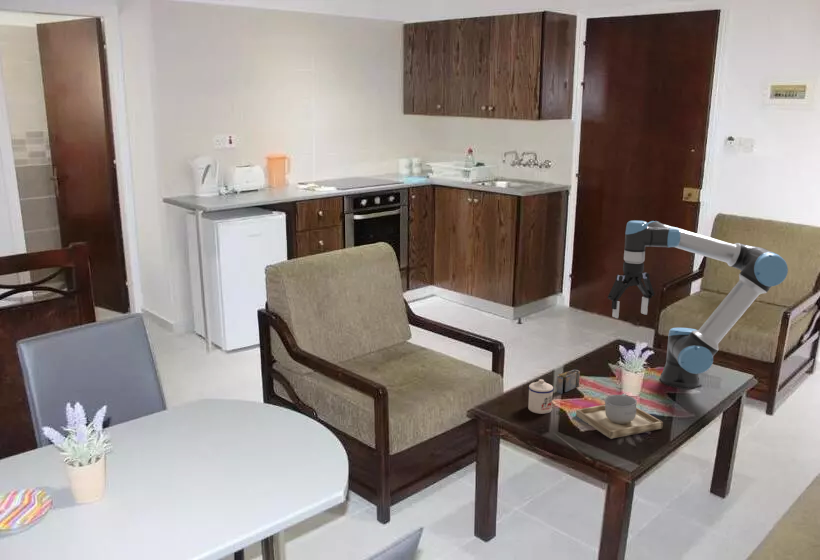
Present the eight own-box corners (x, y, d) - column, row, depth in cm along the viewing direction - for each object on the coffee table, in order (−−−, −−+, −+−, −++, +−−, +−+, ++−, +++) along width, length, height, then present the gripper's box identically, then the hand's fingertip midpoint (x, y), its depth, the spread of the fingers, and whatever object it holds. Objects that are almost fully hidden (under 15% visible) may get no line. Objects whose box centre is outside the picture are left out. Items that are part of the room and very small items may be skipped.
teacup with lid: (544, 416, 252) (545, 386, 249) (522, 409, 258) (524, 380, 255) (560, 406, 261) (562, 377, 258) (539, 400, 266) (540, 371, 264)
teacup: (628, 429, 239) (630, 408, 237) (598, 421, 245) (600, 400, 243) (642, 416, 250) (644, 395, 248) (613, 409, 256) (614, 388, 254)
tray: (625, 407, 260) (625, 401, 260) (662, 428, 242) (663, 421, 242) (576, 416, 252) (576, 409, 252) (610, 438, 234) (611, 432, 234)
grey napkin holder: (562, 396, 271) (563, 373, 269) (556, 394, 274) (557, 371, 271) (579, 389, 279) (581, 366, 276) (573, 387, 281) (574, 364, 279)
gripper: (653, 257, 270) (649, 309, 275) (600, 262, 261) (597, 316, 266) (666, 261, 264) (662, 314, 268) (613, 265, 255) (609, 321, 259)
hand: (629, 315), depth 267 cm, fingers open, 13 cm apart
